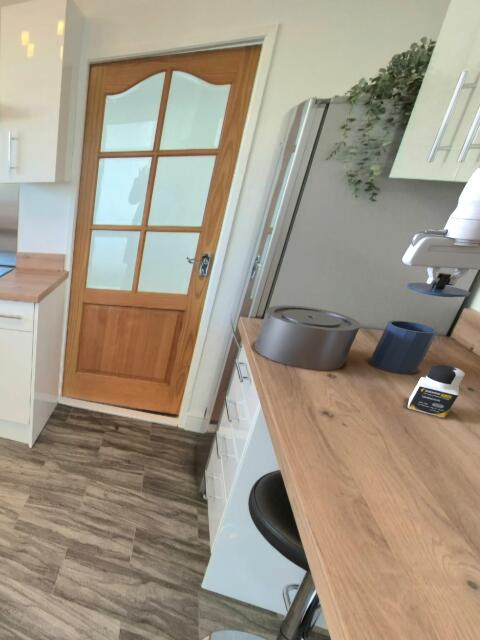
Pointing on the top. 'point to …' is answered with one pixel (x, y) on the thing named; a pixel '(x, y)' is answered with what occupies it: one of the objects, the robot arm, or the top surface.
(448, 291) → the tin lid
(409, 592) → the top surface
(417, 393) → the medicine bottle
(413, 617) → the top surface
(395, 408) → the top surface
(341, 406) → the top surface
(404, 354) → the tin
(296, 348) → the container
